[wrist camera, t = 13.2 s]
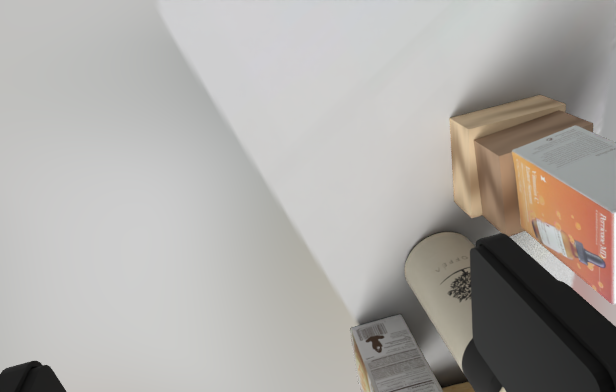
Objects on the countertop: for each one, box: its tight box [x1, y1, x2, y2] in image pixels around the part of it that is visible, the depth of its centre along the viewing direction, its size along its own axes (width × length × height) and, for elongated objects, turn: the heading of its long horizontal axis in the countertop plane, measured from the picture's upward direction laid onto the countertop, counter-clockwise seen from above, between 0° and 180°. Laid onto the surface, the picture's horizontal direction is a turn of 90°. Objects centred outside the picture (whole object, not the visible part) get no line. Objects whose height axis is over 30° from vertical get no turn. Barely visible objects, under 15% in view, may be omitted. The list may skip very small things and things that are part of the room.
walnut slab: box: [474, 110, 593, 236], centre depth 39 cm, size 8×8×4 cm
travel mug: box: [405, 232, 506, 392], centre depth 41 cm, size 8×8×18 cm
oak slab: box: [450, 95, 566, 218], centre depth 43 cm, size 9×9×4 cm
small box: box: [512, 126, 616, 304], centre depth 33 cm, size 8×6×10 cm
